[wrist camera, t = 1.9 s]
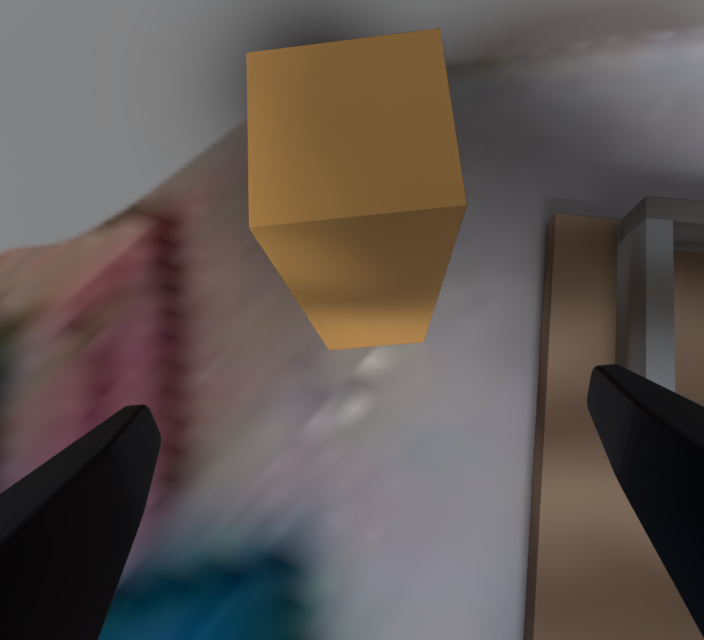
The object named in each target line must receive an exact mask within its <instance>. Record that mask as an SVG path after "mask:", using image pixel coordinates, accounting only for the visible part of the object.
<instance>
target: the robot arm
mask: <svg viewBox="0 0 704 640" xmlns="http://www.w3.org/2000/svg"><path fill="white" fill-rule="evenodd" d="M587 407H588V410H589V413H590V416H591V418H592V420H593V423H594V425H595V428H596V430H597V433H598V435H599V438H600V440H601V443H602V445H603V447H604V450H605V452H606V455H607V457H608V460H609V462H610V465H611V467H612V469H613V472H614V474H615V476H616V478H617V480H618V482H619V484H620V486H621V488H622V490H623V492H624V494H625V496H626V497H627V499H628V501H629V503H630V505H631V506H632V508H633V510H634V512H635V514H636V516H637V517H638V519H639V521H640V523H641V525H642V527H643V528H644V530H645V532H646V534H647V536H648V538H649V539H650V541H651V543H652V545H653V547H654V549H655V550H656V552H657V554H658V556H659V558H660V559H661V561H662V563H663V565H664V567H665V569H666V570H667V572H668V574H669V576H670V578H671V580H672V581H673V583H674V585H675V587H676V589H677V591H678V592H679V594H680V596H681V598H682V600H683V601H684V603H685V605H686V607H687V609H688V611H689V612H690V614H691V616H692V618H693V620H694V622H695V623H696V625H697V627H698V629H699V631H700V633H701V634H702V636H703V638H704V406H702V405H700V404H698V403H696V402H694V401H692V400H690V399H688V398H686V397H683V396H681V395H679V394H677V393H675V392H673V391H671V390H669V389H667V388H665V387H663V386H661V385H659V384H657V383H655V382H653V381H651V380H649V379H647V378H645V377H643V376H641V375H639V374H637V373H634V372H632V371H630V370H628V369H626V368H624V367H622V366H620V365H618V364H607V365H597V366H595V367H594V368H593V370H592V373H591V378H590V383H589V389H588V394H587ZM160 446H161V435H160V432H159V429H158V427H157V425H156V422H155V420H154V417H153V415H152V413H151V410H150V409H149V407H148V406H146V405H143V404H142V405H131V406H126V407H124V408H122V409H121V410H119V411H118V412H117V413H115V414H114V415H112V416H111V417H109V418H108V419H106V420H105V421H104V422H102V423H101V424H99V425H98V426H96V427H95V428H94V429H92V430H91V431H89V432H88V433H86V434H85V435H84V436H82V437H81V438H79V439H78V440H76V441H75V442H74V443H72V444H71V445H69V446H68V447H66V448H65V449H64V450H62V451H61V452H59V453H58V454H56V455H55V456H54V457H52V458H51V459H49V460H48V461H46V462H45V463H44V464H42V465H41V466H39V467H38V468H36V469H35V470H34V471H32V472H31V473H29V474H28V475H26V476H25V477H24V478H22V479H21V480H19V481H18V482H16V483H15V484H14V485H12V486H11V487H9V488H8V489H6V490H5V491H4V492H2V493H1V494H0V640H98V638H99V635H100V633H101V630H102V627H103V624H104V622H105V619H106V616H107V613H108V611H109V608H110V605H111V602H112V600H113V597H114V594H115V591H116V589H117V586H118V583H119V580H120V578H121V575H122V572H123V569H124V566H125V564H126V561H127V558H128V555H129V553H130V550H131V547H132V544H133V542H134V539H135V536H136V533H137V531H138V528H139V525H140V522H141V519H142V516H143V513H144V510H145V506H146V503H147V499H148V495H149V491H150V487H151V483H152V479H153V475H154V470H155V466H156V462H157V458H158V454H159V450H160Z"/></svg>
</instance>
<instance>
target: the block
mask: <svg viewBox="0 0 704 640" xmlns="http://www.w3.org/2000/svg"><path fill="white" fill-rule="evenodd" d="M247 118H248V191H249V228H250V230H251V231H252V233H253V234H254V236H255V238H256V239H257V241H258V242H259V244H260V245H261V247H262V248H263V250H264V251H265V253H266V254H267V256H268V257H269V259H270V260H271V262H272V263H273V265H274V267H275V268H276V270H277V271H278V273H279V274H280V276H281V277H282V279H283V280H284V282H285V283H286V285H287V286H288V288H289V289H290V291H291V292H292V294H293V295H294V297H295V299H296V300H297V302H298V303H299V305H300V306H301V308H302V309H303V311H304V312H305V314H306V315H307V317H308V318H309V320H310V321H311V323H312V324H313V326H314V328H315V329H316V331H317V332H318V334H319V335H320V337H321V338H322V340H323V341H324V343H325V344H326V346H327V347H328V349H329V350H336V349H347V348H359V347H370V346H382V345H393V344H405V343H417V342H424V340H425V337H426V333H427V330H428V327H429V324H430V321H431V317H432V314H433V311H434V308H435V305H436V302H437V298H438V295H439V292H440V289H441V286H442V282H443V279H444V276H445V273H446V270H447V267H448V263H449V260H450V257H451V254H452V251H453V247H454V244H455V241H456V238H457V235H458V232H459V228H460V225H461V222H462V219H463V216H464V212H465V209H466V206H467V203H466V196H465V190H464V183H463V177H462V170H461V163H460V157H459V150H458V144H457V137H456V130H455V124H454V117H453V111H452V104H451V98H450V91H449V84H448V78H447V71H446V65H445V58H444V52H443V45H442V39H441V33H440V28H438V29H430V30H423V31H414V32H406V33H399V34H391V35H383V36H376V37H368V38H359V39H352V40H344V41H336V42H328V43H320V44H313V45H305V46H296V47H288V48H281V49H273V50H265V51H258V52H250V53H247Z"/></svg>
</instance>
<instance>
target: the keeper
mask: <svg viewBox="0 0 704 640" xmlns="http://www.w3.org/2000/svg"><path fill="white" fill-rule="evenodd" d="M607 364H618V365H620V366H622V367H624V368H626V369H628V370H630V371H632V372H634V373H637V374H639V375H641V376H643V377H645V378H647V379H649V380H651V381H653V382H655V383H657V384H659V385H661V386H663V387H665V388H667V389H669V390H671V391H673V392H675V393H677V394H679V395H681V396H683V397H686V398H688V399H690V400H692V401H694V402H696V403H698V404H700V405H702V406H704V201H694V200H683V199H673V198H662V197H651V196H646V197H645V198H644V199H643V200H642V201H641V202H640V203H639V204H638V205H637V206H636V207H635V208H634V209H633V210H632V211H631V212H630V213H628V214H627V215H626V216H625V217H624V218H623V219H622V220H621V219H611V218H601V217H591V216H580V215H570V214H560V213H556V214H555V215H554V216H553V218H552V219H551V221H550V222H549V224H548V227H547V244H546V262H545V279H544V296H543V314H542V331H541V349H540V366H539V384H538V401H537V419H536V436H535V454H534V471H533V489H532V506H531V524H530V541H529V558H528V576H527V593H526V611H525V628H524V640H704V638H703V636H702V634H701V633H700V631H699V629H698V627H697V625H696V623H695V622H694V620H693V618H692V616H691V614H690V612H689V611H688V609H687V607H686V605H685V603H684V601H683V600H682V598H681V596H680V594H679V592H678V591H677V589H676V587H675V585H674V583H673V581H672V580H671V578H670V576H669V574H668V572H667V570H666V569H665V567H664V565H663V563H662V561H661V559H660V558H659V556H658V554H657V552H656V550H655V549H654V547H653V545H652V543H651V541H650V539H649V538H648V536H647V534H646V532H645V530H644V528H643V527H642V525H641V523H640V521H639V519H638V517H637V516H636V514H635V512H634V510H633V508H632V506H631V505H630V503H629V501H628V499H627V497H626V496H625V494H624V492H623V490H622V488H621V486H620V484H619V482H618V480H617V478H616V476H615V474H614V472H613V469H612V467H611V465H610V462H609V460H608V457H607V455H606V452H605V450H604V447H603V445H602V443H601V440H600V438H599V435H598V433H597V430H596V428H595V425H594V423H593V420H592V418H591V416H590V413H589V410H588V407H587V394H588V389H589V383H590V378H591V373H592V370H593V368H594V367H595V366H597V365H607Z"/></svg>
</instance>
